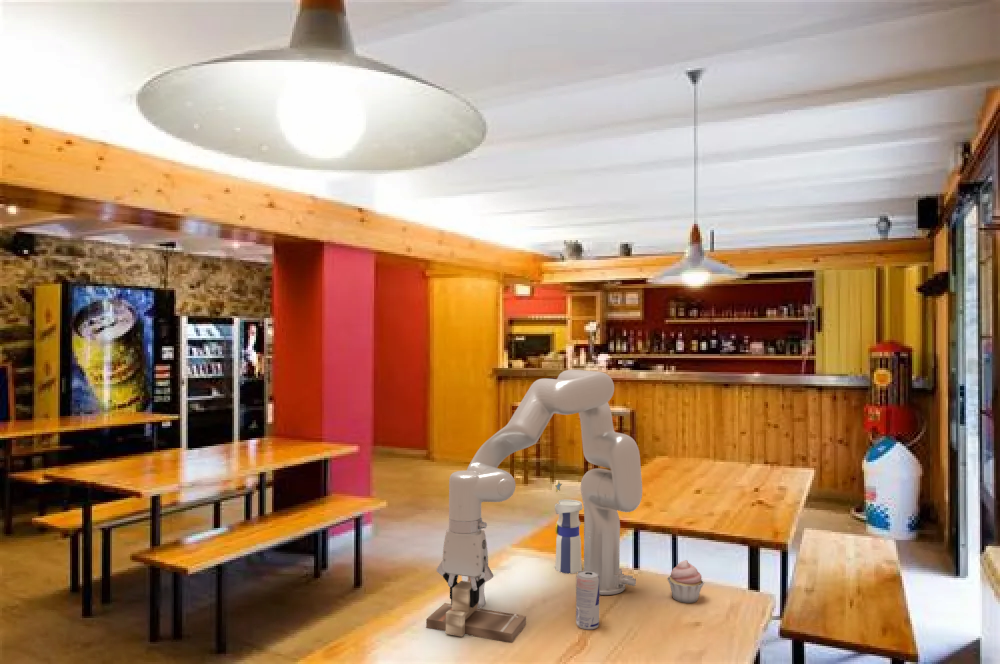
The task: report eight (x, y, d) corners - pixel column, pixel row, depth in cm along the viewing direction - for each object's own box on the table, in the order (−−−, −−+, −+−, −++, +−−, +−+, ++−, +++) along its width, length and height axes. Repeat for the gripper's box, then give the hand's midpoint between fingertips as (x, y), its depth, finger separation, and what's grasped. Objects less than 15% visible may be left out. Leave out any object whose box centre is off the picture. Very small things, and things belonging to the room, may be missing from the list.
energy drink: (601, 622, 159) (601, 571, 159) (596, 631, 154) (597, 579, 154) (578, 619, 161) (579, 568, 161) (573, 628, 156) (574, 576, 156)
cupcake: (704, 608, 168) (704, 568, 168) (665, 603, 171) (665, 563, 171) (704, 594, 177) (705, 556, 177) (668, 589, 180) (668, 552, 180)
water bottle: (550, 572, 193) (550, 484, 193) (557, 562, 201) (558, 478, 201) (578, 575, 190) (578, 487, 190) (585, 566, 198) (585, 481, 198)
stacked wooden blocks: (480, 617, 161) (480, 579, 161) (461, 636, 150) (462, 596, 151) (464, 615, 162) (465, 577, 162) (445, 633, 152) (445, 593, 152)
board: (526, 624, 158) (526, 615, 158) (511, 642, 148) (511, 633, 148) (444, 611, 165) (444, 602, 165) (426, 627, 156) (426, 618, 156)
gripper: (504, 524, 158) (503, 603, 157) (439, 517, 163) (438, 593, 163) (492, 533, 150) (492, 615, 150) (425, 525, 156) (424, 604, 156)
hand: (464, 603), depth 157 cm, fingers closed on stacked wooden blocks, 4 cm apart
